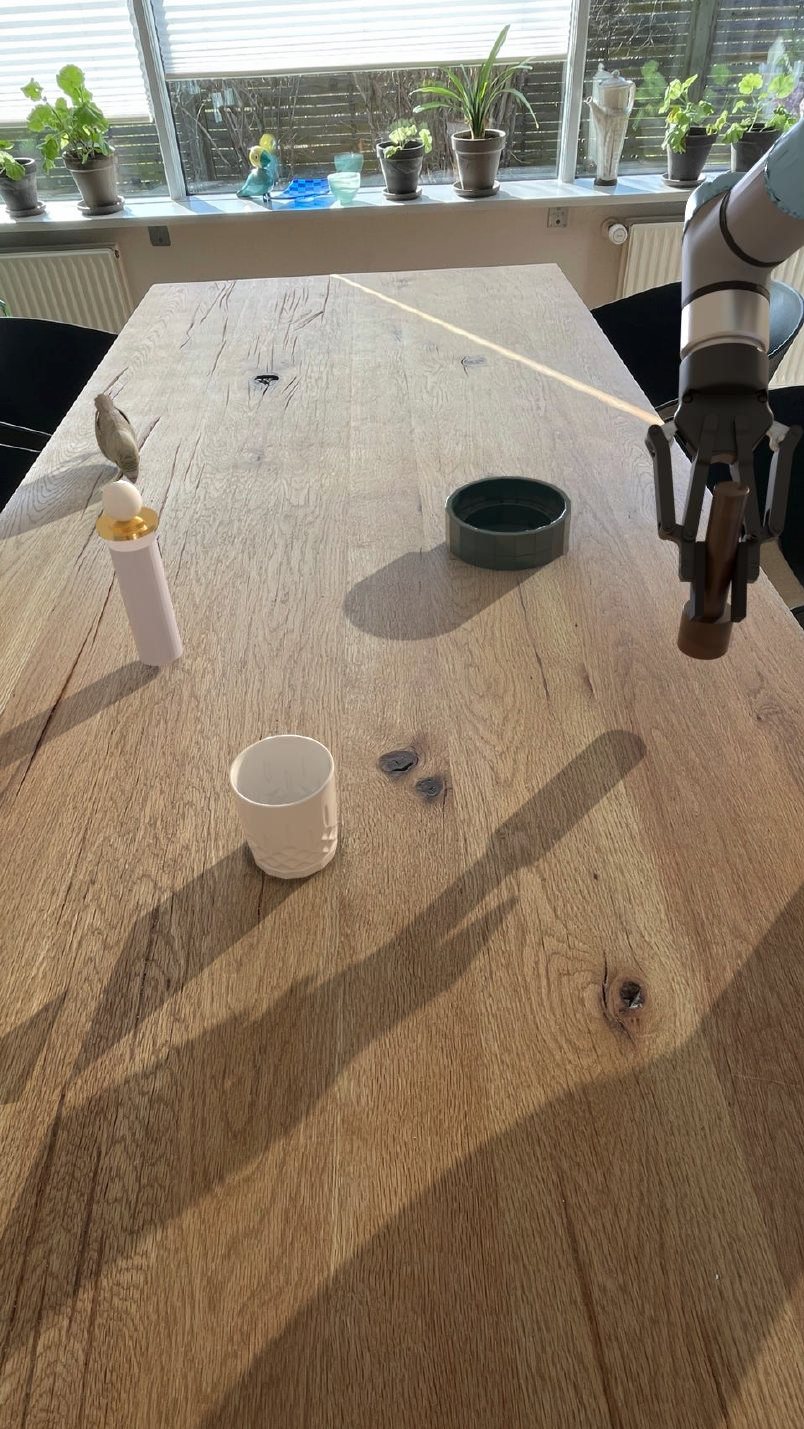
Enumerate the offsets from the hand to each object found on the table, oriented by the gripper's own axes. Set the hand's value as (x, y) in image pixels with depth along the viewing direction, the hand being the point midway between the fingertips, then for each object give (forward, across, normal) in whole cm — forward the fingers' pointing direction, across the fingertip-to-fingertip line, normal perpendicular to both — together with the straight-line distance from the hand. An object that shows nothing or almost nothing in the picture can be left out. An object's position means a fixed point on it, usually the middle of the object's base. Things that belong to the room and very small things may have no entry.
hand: (717, 618), depth 82 cm
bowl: (-13, +19, -28) cm, 36 cm away
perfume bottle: (+4, +54, -11) cm, 55 cm away
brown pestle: (+1, 0, -7) cm, 7 cm away
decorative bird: (-29, +75, -43) cm, 91 cm away
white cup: (+22, +34, +7) cm, 41 cm away
